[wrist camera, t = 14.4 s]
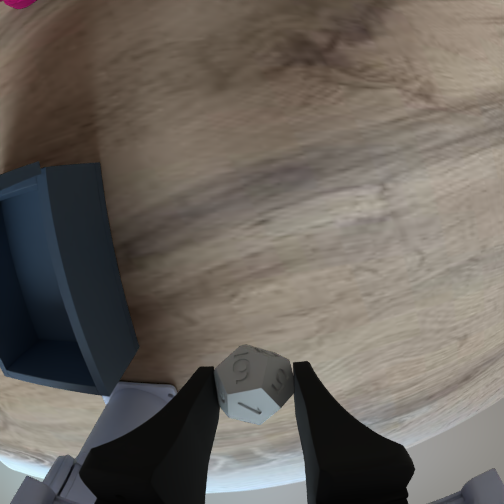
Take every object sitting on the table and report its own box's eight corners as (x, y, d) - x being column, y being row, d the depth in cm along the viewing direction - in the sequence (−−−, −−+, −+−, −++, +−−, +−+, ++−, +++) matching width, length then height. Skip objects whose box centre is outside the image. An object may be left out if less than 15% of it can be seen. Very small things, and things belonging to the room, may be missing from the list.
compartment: (139, 347, 23) (109, 397, 17) (40, 341, 24) (4, 376, 18) (100, 162, 19) (45, 166, 13) (0, 192, 20) (-51, 205, 14)
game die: (244, 316, 13) (238, 357, 10) (308, 358, 14) (317, 401, 11) (201, 366, 14) (188, 408, 11) (262, 401, 15) (261, 444, 12)
